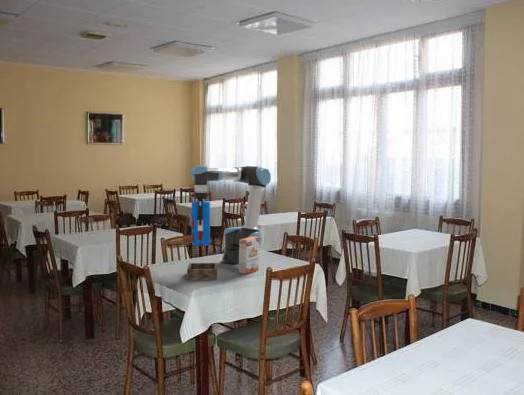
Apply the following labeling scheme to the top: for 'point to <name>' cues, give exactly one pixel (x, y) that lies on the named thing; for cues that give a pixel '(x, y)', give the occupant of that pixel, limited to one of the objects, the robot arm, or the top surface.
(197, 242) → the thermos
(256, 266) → the cracker box
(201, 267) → the open wooden box
